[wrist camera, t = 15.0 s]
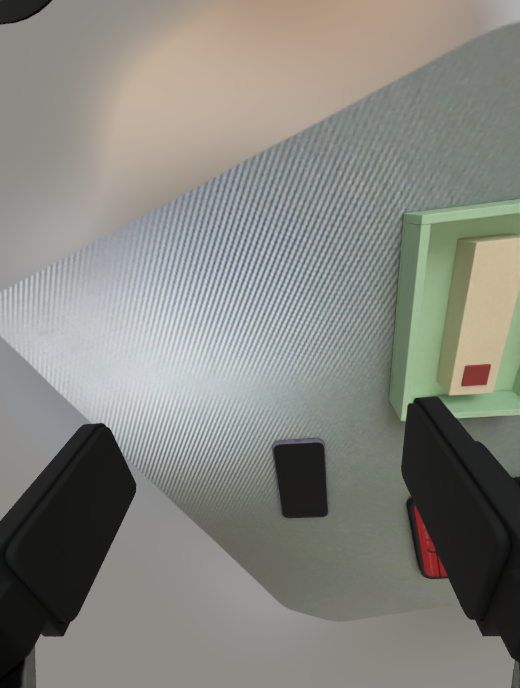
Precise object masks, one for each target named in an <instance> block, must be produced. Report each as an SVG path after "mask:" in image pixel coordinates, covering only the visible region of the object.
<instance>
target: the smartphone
mask: <svg viewBox="0 0 520 688" xmlns="http://www.w3.org/2000/svg"><path fill="white" fill-rule="evenodd" d="M273 458H274V464H275V471H276V478H277V485H278V493H279V499H280V505H281V512H282V515H283V516H284V517H285V518H315V517H325V516H327V515H328V512H329V510H328V489H327V474H326V456H325V445H324V442H323V441H322V440H321V439H318V438H313V439H296V440H280V441H276V442H275V443H274V444H273Z"/></svg>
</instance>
